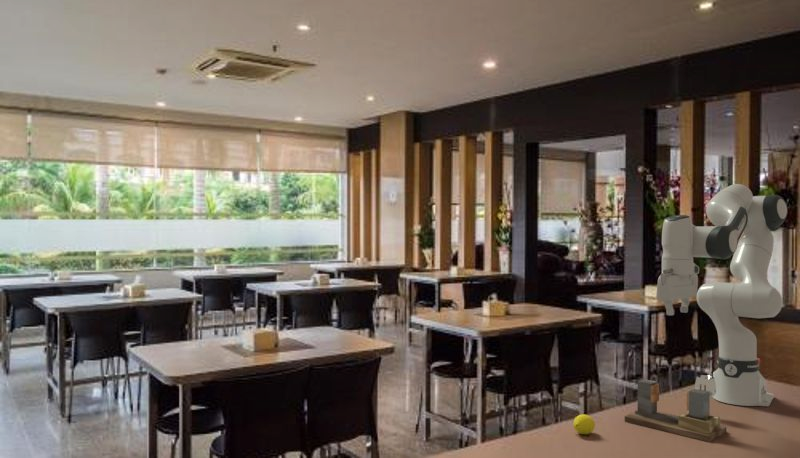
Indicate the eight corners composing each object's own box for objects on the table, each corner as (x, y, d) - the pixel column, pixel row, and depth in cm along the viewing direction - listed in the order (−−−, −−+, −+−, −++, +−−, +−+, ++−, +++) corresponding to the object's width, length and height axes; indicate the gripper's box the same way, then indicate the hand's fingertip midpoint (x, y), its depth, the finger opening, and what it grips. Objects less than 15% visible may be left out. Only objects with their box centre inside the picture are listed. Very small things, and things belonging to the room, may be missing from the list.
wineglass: (718, 419, 185) (718, 379, 185) (697, 418, 186) (697, 378, 186) (712, 414, 191) (712, 375, 191) (692, 413, 192) (692, 374, 192)
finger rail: (643, 413, 192) (643, 376, 192) (726, 432, 174) (726, 391, 174) (624, 421, 183) (624, 382, 183) (709, 441, 166) (709, 398, 166)
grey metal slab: (709, 423, 173) (709, 391, 173) (703, 426, 171) (703, 394, 171) (692, 419, 177) (692, 388, 177) (686, 422, 174) (686, 390, 174)
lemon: (582, 431, 176) (583, 411, 177) (598, 436, 172) (600, 416, 172) (567, 432, 172) (568, 412, 172) (583, 437, 168) (585, 417, 168)
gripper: (672, 270, 180) (672, 317, 180) (701, 267, 193) (701, 311, 193) (651, 269, 184) (651, 315, 184) (681, 266, 198) (681, 309, 198)
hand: (677, 313), depth 189 cm, fingers open, 8 cm apart
